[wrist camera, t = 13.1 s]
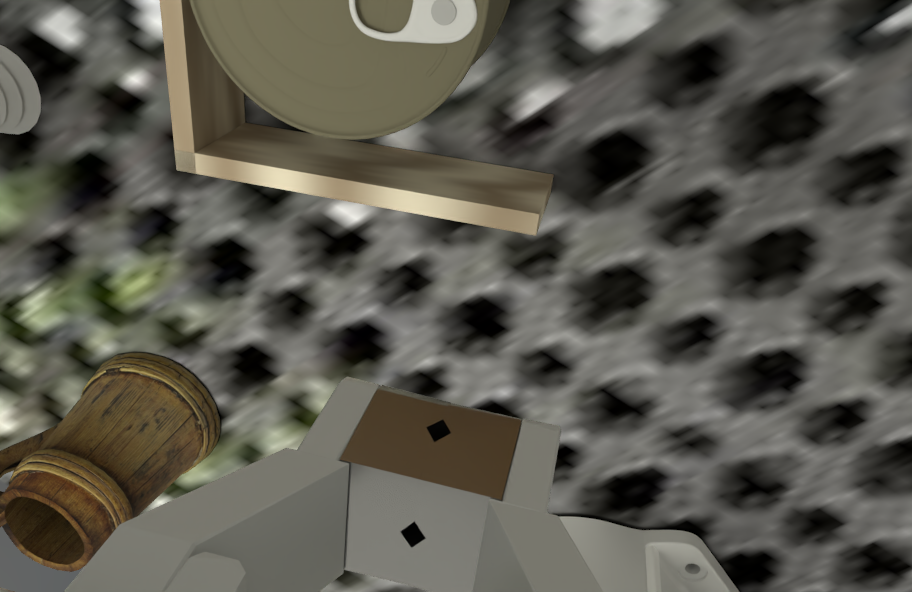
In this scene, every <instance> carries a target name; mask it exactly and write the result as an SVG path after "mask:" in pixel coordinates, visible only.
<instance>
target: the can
mask: <svg viewBox="0 0 912 592" xmlns="http://www.w3.org/2000/svg"><path fill="white" fill-rule="evenodd" d="M190 3H191V7H192V10H193V13H194V15H195V18H196V21H197V24H198V26H199V28H200V30H201V32H202V35H203V37H204V39H205V41H206V43H207V44H208V46H209V48H210V50H211V52H212V53H213V55H214V56H215V58H216V59H217V61H218V62H219V64H220V65H221V67H222V68H223V69H224V71H225V72H226V73H227V75H228V76H229V77H230V78H231V79H232V81H233V82H234V83H235V84H236V85H237V86H238V87H239V88H240V89H241V90H242V91H243V92H244V93H245V94H246V95H247V96H248V97H249V98H250V99H251V100H252V101H254V102H255V103H256V104H257V105H259V106H260V107H261V108H262V109H264V110H265V111H267V112H268V113H270V114H271V115H273V116H274V117H276V118H278V119H280V120H281V121H283V122H285V123H287V124H289V125H291V126H293V127H296V128H298V129H300V130H303V131H306V132H309V133H312V134H315V135H319V136H324V137H328V138H336V139H350V140H357V139H370V138H375V137H381V136H385V135H388V134H392V133H395V132H398V131H400V130H402V129H405V128H407V127H409V126H411V125H413V124H415V123H417V122H419V121H420V120H422V119H423V118H425V117H426V116H428V115H429V114H430V113H432V112H433V111H434V110H435V109H436V108H438V107H439V106H440V105H441V104H442V103H443V102H444V101H445V100H446V99H447V98H448V97H449V96H450V95H451V94H452V93H453V92H454V90H455V89H456V88H457V86H458V85H459V84H460V82H461V81H462V80H463V78H464V77H465V75H466V73H467V72H468V70H469V69H470V67H471V66H472V65H473V64H474V63H475V62H476V61H477V60H478V59H479V58H480V57H481V55H482V54H483V53H484V52H485V50H486V49H487V48H488V46H489V45H490V44H491V42H492V41H493V39H494V37H495V36H496V34H497V32H498V30H499V28H500V26H501V24H502V22H503V20H504V17H505V15H506V12H507V10H508V6H509V3H510V0H190Z"/></svg>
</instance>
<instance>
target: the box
mask: <svg viewBox="0 0 912 592" xmlns="http://www.w3.org/2000/svg"><path fill="white" fill-rule="evenodd" d="M160 8H161V18H162V28H163V38H164V48H165V58H166V68H167V78H168V88H169V99H170V109H171V119H172V129H173V139H174V149H175V159H176V169H177V170H179V171H184V172H190V173H195V174H201V175H206V176H212V177H217V178H223V179H228V180H234V181H239V182H245V183H250V184H255V185H261V186H266V187H272V188H277V189H283V190H288V191H294V192H299V193H305V194H310V195H316V196H321V197H327V198H332V199H338V200H343V201H349V202H354V203H360V204H365V205H371V206H376V207H382V208H387V209H393V210H398V211H404V212H409V213H415V214H420V215H426V216H431V217H437V218H442V219H448V220H453V221H459V222H464V223H470V224H475V225H481V226H486V227H492V228H497V229H503V230H508V231H514V232H519V233H525V234H530V235H536V234H537V231H538V228H539V225H540V222H541V220H542V217H543V214H544V211H545V208H546V205H547V202H548V200H549V197H550V194H551V188H552V182H553V174H547V173H541V172H535V171H529V170H523V169H518V168H512V167H506V166H500V165H494V164H488V163H482V162H476V161H470V160H464V159H458V158H452V157H446V156H440V155H434V154H429V153H423V152H417V151H411V150H405V149H399V148H393V147H387V146H381V145H375V144H369V143H363V142H357V141H351V140H346V139H336V138H328V137H324V136H319V135H315V134H310V133H304V132H298V131H292V130H286V129H280V128H274V127H268V126H262V125H257V124H251V123H245V107H244V92H243V91H242V90H241V89H240V88H239V87H238V86H237V85H236V84H235V83H234V82H233V81H232V79H231V78H230V77H229V76H228V75H227V73H226V72H225V71H224V69H223V68H222V67H221V65H220V64H219V62H218V61H217V59H216V58H215V56H214V55H213V53H212V52H211V50H210V48H209V46H208V44H207V43H206V41H205V39H204V37H203V35H202V32H201V30H200V28H199V26H198V24H197V21H196V18H195V15H194V13H193V10H192V7H191V3H190V0H160Z"/></svg>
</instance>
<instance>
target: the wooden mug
mask: <svg viewBox="0 0 912 592" xmlns="http://www.w3.org/2000/svg"><path fill="white" fill-rule="evenodd" d="M219 435H220V418H219V414H218V411H217V408H216V405H215V403H214V401H213V400H212V398H211V396H210V395H209V393H208V392H207V390H206V389H205V388H204V386H203V385H202V384H201V383H200V382H199V381H198V380H197V379H196V378H195V376H194V375H192V374H191V373H190V372H188V371H187V370H186V369H185V368H183V367H182V366H181V365H179V364H177V363H175V362H173V361H171V360H169V359H167V358H164V357H161V356H157V355H152V354H148V353H127V354H121V355H116V356H114V357H113V358H111V359H109V360H107V361H106V362H104V363H103V364H102V365H101V366H100V368H99V369H98V370H97V372H96V373H95V374H94V375H93V377H92V378H91V379H90V380H89V382H88V383H87V385H86V386H85V387H84V389H83V391H82V395H81V398H80V399H79V401H78V402H77V403H76V404H75V406H74V407H73V408H72V409H71V411H70V412H69V413H68V414H67V415H66V417H65V418H64V419H63V420H62V421H61V422H59V423H58V424H57V425H55V426H54V427H52V428H50V429H48V430H46V431H44V432H42V433H40V434H38V435H35V436H33V437H31V438H28V439H26V440H24V441H21V442H19V443H17V444H14V445H12V446H10V447H8V448H6V449H4V450H1V451H0V478H1V477H2V476H3V475H4V474H6V473H8V472H11V471H13V470H14V472H13V474H12V477H11V479H10V482H9V487H8V488H7V489H6V491H5V492H1V491H0V527H1V526H2V527H3V528H4V530H5V532H6V533H7V535H8V536H9V537H10V539H11V540H12V542H13V543H14V544H15V545H16V547H17V548H18V549H19V550H20V551H21V552H22V553H23V554H25V555H26V556H28V557H29V558H31V559H32V560H34V561H36V562H38V563H40V564H42V565H44V566H47V567H50V568H53V569H56V570H62V571H70V572H72V571H76V570H79V569H81V568H82V567H84V566H85V565H87V563H88V562H89V561H90V560H91V559H92V557H93V556H94V555H95V554H96V552H97V551H98V550H99V549H100V548H101V546H102V545H103V544H104V543H105V542H106V540H107V539H108V538H109V537H110V536H111V534H112V533H113V532H114V531H115V530H116V528H117V527H118V526H119V525H120V524H122V523H124V522H126V521H128V520H130V519H133V518H135V517H137V516H138V515H139V514H140V513H141V512H142V511H143V510H144V509H145V508H146V507H147V506H148V505H149V504H151V503H152V502H153V501H154V500H155V499H156V498H157V497H158V496H159V495H160V494H161V493H162V492H163V491H164V490H165V489H167V488H168V487H169V486H170V485H171V484H172V483H173V482H174V481H175V480H176V479H177V478H178V477H179V476H180V475H181V474H184V473H186V472H188V471H189V470H191V469H192V468H193V467H195V466H196V465H197V464H199V463H200V462H201V461H202V460H203V459H205V458H206V457H207V456H208V455H210V453H211V452H212V450H213V449H214V447H215V446H216V444H217V441H218V438H219Z"/></svg>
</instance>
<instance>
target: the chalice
mask: <svg viewBox="0 0 912 592" xmlns="http://www.w3.org/2000/svg"><path fill="white" fill-rule="evenodd" d="M40 113H41V97H40V93H39V89H38V86H37V83H36V81H35V79H34V77H33V75H32V73H31V72H30V70H29V68H28V67H27V66H26V65H25V64H24V63H23V61H22V60H21V59H20V58H19V57H18V56H17V55H16V54H14V53H13V52H12V51H10V50H9V49H8V48H6V47H4V46H2V45H0V133H6V134H21V133H24V132H27V131H29V130H30V129H31V128H32V127H33V126H34V125H35V124H36V123H37V121H38V118H39V115H40Z"/></svg>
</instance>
